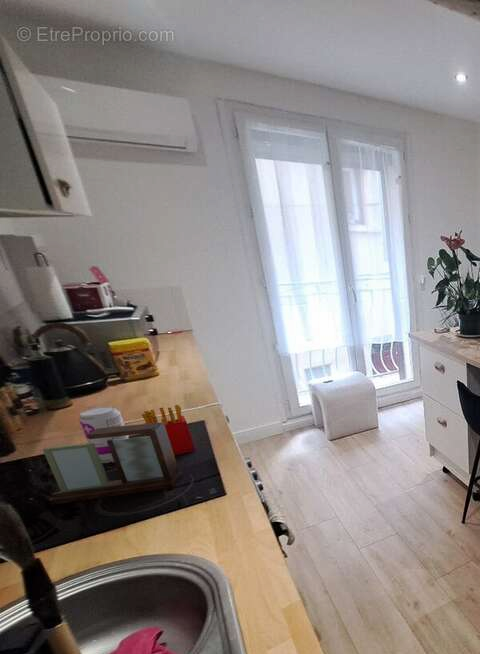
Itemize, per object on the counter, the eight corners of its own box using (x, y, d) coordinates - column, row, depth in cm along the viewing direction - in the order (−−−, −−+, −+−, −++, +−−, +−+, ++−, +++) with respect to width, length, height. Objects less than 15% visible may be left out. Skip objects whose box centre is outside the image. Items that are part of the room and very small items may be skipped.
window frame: (51, 505, 99) (22, 443, 93) (67, 492, 104) (41, 432, 98) (172, 487, 107) (153, 429, 101) (181, 476, 113) (164, 420, 107)
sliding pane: (61, 493, 101) (42, 449, 96) (64, 491, 101) (44, 447, 97) (108, 487, 104) (91, 444, 100) (110, 485, 105) (93, 442, 100)
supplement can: (101, 467, 116) (82, 418, 111) (92, 459, 120) (73, 412, 115) (138, 455, 123) (122, 409, 117) (128, 448, 127) (112, 403, 121)
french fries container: (153, 453, 124) (139, 410, 119) (191, 444, 130) (179, 403, 126) (156, 461, 120) (141, 417, 115) (195, 451, 126) (183, 409, 121)
